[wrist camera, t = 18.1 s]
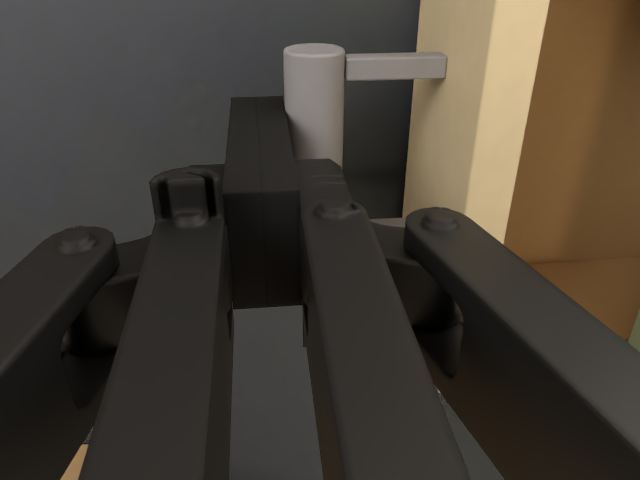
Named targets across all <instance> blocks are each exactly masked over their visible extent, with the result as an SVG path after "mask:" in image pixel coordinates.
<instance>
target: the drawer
mask: <svg viewBox="0 0 640 480" xmlns="http://www.w3.org/2000/svg"><path fill="white" fill-rule="evenodd" d="M283 61H284V96H285V111H286V117H287V122H288V128H289V133H290V138H291V144H292V149H293V155H294V160H304V159H329V158H330V159H331V160H333V161H334V162H335V163H337V164H338V165H340V166H341V169H342V158H343V117H344V78H345V79H346V80H347V81H371V80H411V79H414V85H413V97H412V108H411V120H410V132H409V144H408V156H407V167H406V179H405V191H404V203H403V215H402V218H385V219H370V221H371V222H374V223H378V224H381V225H387V226H395V227H403V228H405V220H406V216H407V215H409V214H410V213H411V212H413V211H415V210H419V209H422V208H431V207H440V208H441V207H444V208H449V209H450V210H454V211H457V212H460V213H462V214H464V215H466V216H467V217H469V218H470V219H472V220H473V221H474V222H475V223H477V224H478V225H479V226H480V227H482V228H483V229H484V230H486V231H487V232H488V233H489V234H491V235H492V236H493V237H494V238H496V239H497V240H498V241H500V242H501V243H502V244H503V245H505V246H506V247H507V248H508V249H510V250H511V251H512V252H513V253H515V254H516V255H517V256H519V257H520V258H521V259H522V260H524V261H525V262H526V263H527V264H529V265H530V266H531V267H532V268H534V269H535V270H536V271H538V272H539V273H540V274H541V275H543V276H544V277H545V278H546V279H548V280H549V281H550V282H552V283H553V284H554V285H555V286H557V287H558V288H559V289H560V290H562V291H563V292H564V293H565V294H567V295H568V296H569V297H571V298H572V299H573V300H574V301H576V302H577V303H578V304H579V305H581V306H582V307H583V308H584V309H586V310H587V311H588V312H590V313H591V314H592V315H593V316H595V317H596V318H597V319H598V320H600V321H601V322H602V323H603V324H605V325H606V326H607V327H609V328H610V329H611V330H612V331H614V332H615V333H616V334H617V335H619V336H620V337H621V338H623V339H624V340H625V341H626V342H628V340H629V337H630V334H631V331H632V329H633V326H634V323H635V320H636V317H637V314H638V311H639V309H640V0H421V2H420V14H419V26H418V38H417V49H416V52H414V53H365V54H345V51H344V49H343V48H342V47H340V46H337V45H332V44H325V43H303V44H296V45H291V46H288V47H286V48H285V49H284V51H283ZM437 390H438V389H437ZM438 392H439V393H440V391H439V390H438Z"/></svg>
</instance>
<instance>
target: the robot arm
mask: <svg viewBox="0 0 640 480" xmlns="http://www.w3.org/2000/svg"><path fill="white" fill-rule="evenodd" d="M149 184H150V190H151V196H152V202H153V208H154V214H155V220H156V221H155V225H154V228H153V231H152V235H150V236H147V237H145V238H142V239H139V240H135V241H131V242H127V243H122V244H117V245H116V243H115V239H114V236H113V233H112V232H110V231H108V230H107V229H104V228H99V227H84V226H78V227H75V228H73V227H72V228H68V229H65V230H64V231H62V232H59V233H56V234H54V235H52V236H50V237H49V238H47V239H46V240H44V241H43V242H42V243H41V244H39V245H38V246H37V247H36V248H35V249H34V250H33V251H32V252H31V253H29V254H28V255H27V256H26V257H25V258H24V259H23V260H22V261H21V262H19V263H18V264H17V265H16V266H15V267H14V268H13V269H12V270H11V271H10V272H8V273H7V274H6V275H5V276H4V277H3V278H2V279H1V280H0V480H61V478H62V476H63V475H64V473H65V471H66V470H67V468H68V466H69V465H70V463H71V461H72V460H73V458H74V457H75V455H76V453H77V452H78V450H79V448H80V447H81V445H82V443H83V442H84V440H85V439H86V437H87V435H88V434H89V432H90V430H91V429H92V427H93V425H94V428H93V431H92V434H91V438H90V441H89V444H88V448H87V451H86V454H85V458H84V461H83V464H82V468H81V471H80V474H79V478H78V480H229V458H230V428H231V398H232V368H233V338H234V318H233V309H247V308H262V307H278V306H294V305H302V301H303V347H307V355H308V363H309V370H310V378H311V386H312V394H313V401H314V409H315V417H316V425H317V432H318V440H319V448H320V456H321V463H322V471H323V479H324V480H471V478H470V475H469V473H468V470H467V468H466V465H465V463H464V460H463V457H462V455H461V452H460V450H459V447H458V445H457V442H456V439H455V437H454V434H453V432H452V429H451V427H450V424H449V422H448V419H447V416H446V414H445V411H444V409H443V406H442V404H441V401H440V398H439V396H438V393H437V391H436V388H435V386H436V387H437V389H438V390H439V391H440V393H441V394H442V395H443V397H444V398H445V399H446V401H447V402H448V403H449V405H450V406H451V407H452V409H453V410H454V411H455V413H456V414H457V415H458V417H459V418H460V420H461V421H462V422H463V424H464V425H465V426H466V428H467V429H468V430H469V432H470V433H471V434H472V436H473V437H474V438H475V440H476V441H477V442H478V444H479V445H480V446H481V448H482V449H483V450H484V452H485V453H486V454H487V456H488V457H489V459H490V460H491V461H492V463H493V464H494V465H495V467H496V468H497V469H498V471H499V472H500V473H501V475H502V476H503V477H504V479H505V480H640V352H639V351H638V350H636V349H635V348H634V347H633V346H631V345H630V344H629V343H628V342H626V341H625V340H624V339H623V338H621V337H620V336H619V335H617V334H616V333H615V332H614V331H612V330H611V329H610V328H609V327H607V326H606V325H605V324H603V323H602V322H601V321H600V320H598V319H597V318H596V317H595V316H593V315H592V314H591V313H590V312H588V311H587V310H586V309H584V308H583V307H582V306H581V305H579V304H578V303H577V302H576V301H574V300H573V299H572V298H571V297H569V296H568V295H567V294H565V293H564V292H563V291H562V290H560V289H559V288H558V287H557V286H555V285H554V284H553V283H552V282H550V281H549V280H548V279H546V278H545V277H544V276H543V275H541V274H540V273H539V272H538V271H536V270H535V269H534V268H532V267H531V266H530V265H529V264H527V263H526V262H525V261H524V260H522V259H521V258H520V257H519V256H517V255H516V254H515V253H513V252H512V251H511V250H510V249H508V248H507V247H506V246H505V245H503V244H502V243H501V242H500V241H498V240H497V239H496V238H494V237H493V236H492V235H491V234H489V233H488V232H487V231H486V230H484V229H483V228H482V227H480V226H479V225H478V224H477V223H475V222H474V221H473V220H472V219H470V218H469V217H467V216H466V215H464V214H462V213H460V212H457V211H454V210H450V209H449V208H444V207H441V208H440V207H431V208H422V209H419V210H415V211H413V212H411V213H410V214H409V215H407V216H406V220H405V228H403V227H395V226H387V225H381V224H378V223H374V222H371V221H370V219H369V216H368V214H367V211H366V210H365V208H364V207H363V206H362V205H361V204H359V203H357V202H355V201H353V199H352V196H351V194H350V191H349V188H348V185H347V184H346V180H345V177H344V174H343V172H342V169H341V166H340V165H338V164H337V163H335V162H334V161H333V160H331V159H330V158H329V159H304V160H294V155H293V149H292V144H291V138H290V133H289V128H288V122H287V117H286V111H285V106H284V100H283V96H270V97H236V98H231V108H230V119H229V129H228V140H227V150H226V160H225V164H218V165H194V166H189V167H186V168H177V169H172V170H169V171H165V172H162V173H160V174H158V175H156V176H154V177H153V178H152V180H151V181H150V182H149ZM232 302H233V308H232ZM62 340H63V341H62ZM434 385H435V386H434Z"/></svg>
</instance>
